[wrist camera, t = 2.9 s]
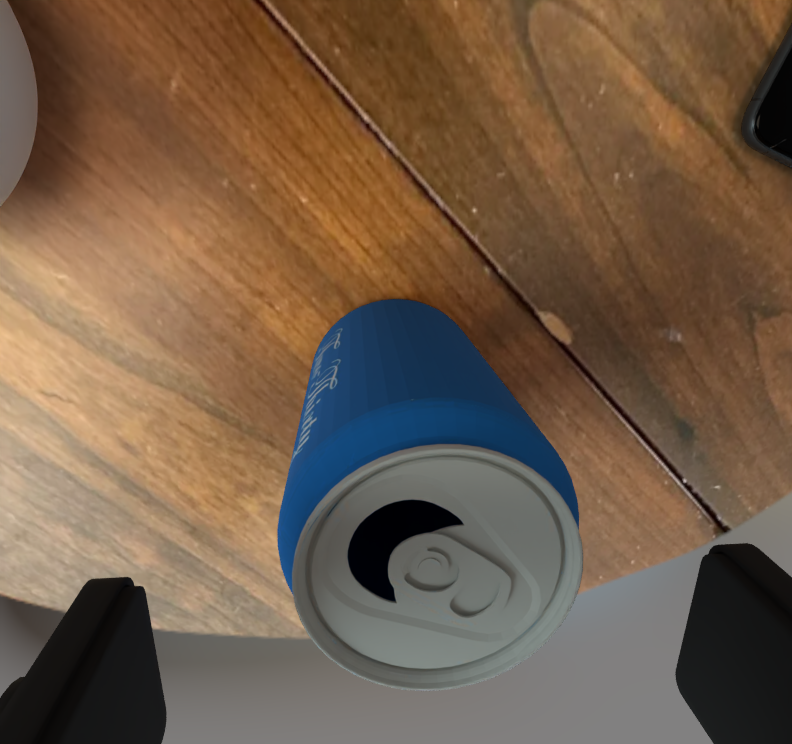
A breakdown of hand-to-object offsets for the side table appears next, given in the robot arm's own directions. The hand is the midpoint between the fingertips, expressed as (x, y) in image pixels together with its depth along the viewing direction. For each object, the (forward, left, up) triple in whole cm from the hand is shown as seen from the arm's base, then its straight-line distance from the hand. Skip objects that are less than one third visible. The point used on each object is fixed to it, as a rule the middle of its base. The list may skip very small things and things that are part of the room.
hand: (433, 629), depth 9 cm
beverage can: (0, 0, -14) cm, 14 cm away
